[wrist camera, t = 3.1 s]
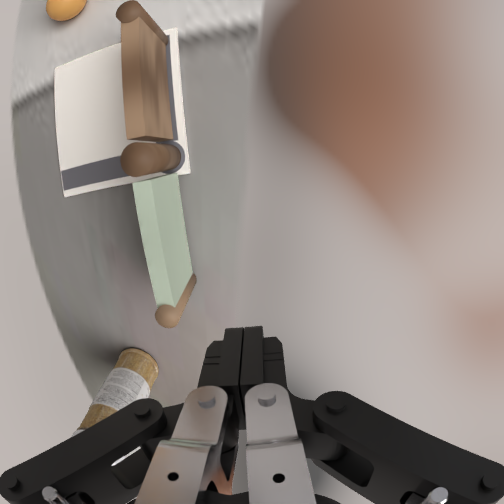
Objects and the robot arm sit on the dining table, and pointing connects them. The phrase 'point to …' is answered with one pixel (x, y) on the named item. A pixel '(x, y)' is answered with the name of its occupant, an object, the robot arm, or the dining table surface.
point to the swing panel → (165, 245)
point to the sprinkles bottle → (122, 387)
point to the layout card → (106, 119)
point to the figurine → (64, 8)
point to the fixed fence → (145, 94)
